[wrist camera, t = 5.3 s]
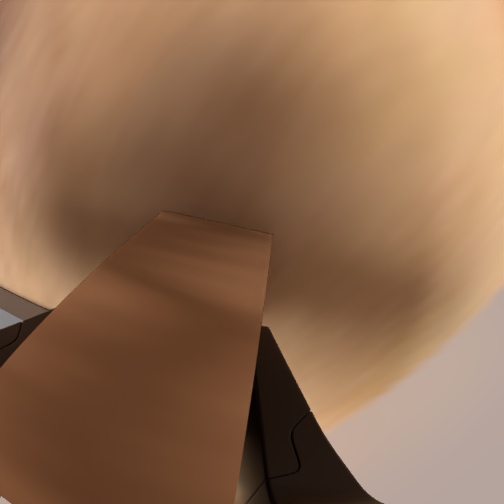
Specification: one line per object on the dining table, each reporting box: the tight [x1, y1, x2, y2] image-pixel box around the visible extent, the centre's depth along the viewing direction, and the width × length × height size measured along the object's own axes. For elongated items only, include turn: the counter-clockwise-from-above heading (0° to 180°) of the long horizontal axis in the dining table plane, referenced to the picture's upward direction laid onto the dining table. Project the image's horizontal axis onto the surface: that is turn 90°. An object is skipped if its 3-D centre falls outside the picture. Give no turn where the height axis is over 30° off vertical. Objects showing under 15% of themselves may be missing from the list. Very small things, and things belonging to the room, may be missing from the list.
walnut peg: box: [0, 211, 273, 504], centre depth 7 cm, size 4×4×10 cm
